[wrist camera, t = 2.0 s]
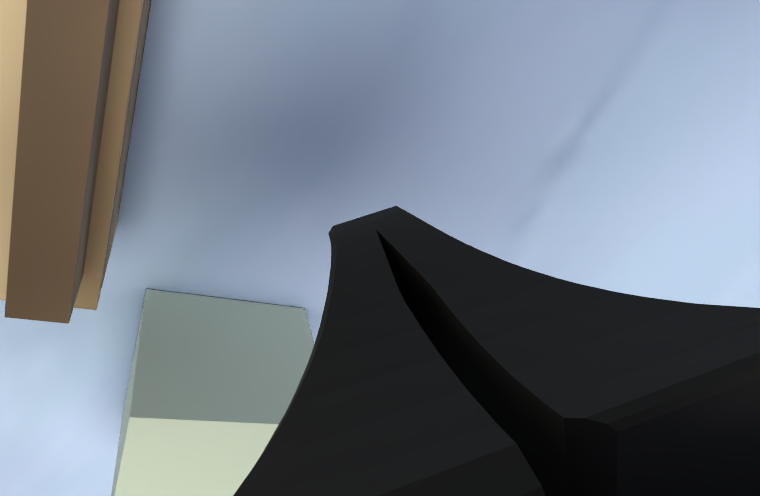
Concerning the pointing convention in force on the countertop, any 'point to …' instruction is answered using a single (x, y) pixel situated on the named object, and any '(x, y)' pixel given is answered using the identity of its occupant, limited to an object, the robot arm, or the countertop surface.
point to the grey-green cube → (206, 392)
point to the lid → (60, 147)
